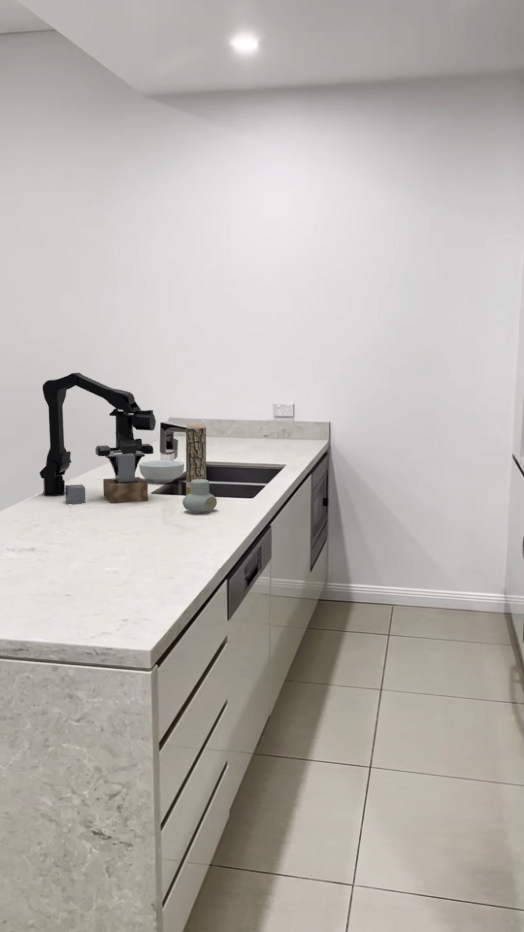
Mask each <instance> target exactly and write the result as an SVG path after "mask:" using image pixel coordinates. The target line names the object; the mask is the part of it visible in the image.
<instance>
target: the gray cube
mask: <svg viewBox="0 0 524 932" xmlns="http://www.w3.org/2000/svg"><path fill="white" fill-rule="evenodd" d="M64 494H65V503H66V504H67V503H68V504H72V505H82V503H85V504H86V487H85V486H84V485H83V484H82V483H81V484H68V485H66V484H65V492H64ZM68 504H67V505H68Z"/></svg>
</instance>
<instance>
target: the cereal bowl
mask: <svg viewBox="0 0 524 932" xmlns="http://www.w3.org/2000/svg"><path fill="white" fill-rule="evenodd" d="M138 467H139V472H140V475H141V476H142V477H143V478H144V479H147V480H149V481H151V482H152V483H155V482H157V483H156V484H165V483H172V482H173V481H174V480H176V479H178V478H180V477H181V476H182V475H183V474H184V471H185V462H183V461H180V460H171V459H170V460H169V459H167V460H166V459H162V460H160V459H159V460H156V459H155V460H147V461H142V462H139V463H138Z"/></svg>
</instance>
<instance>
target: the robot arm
mask: <svg viewBox="0 0 524 932" xmlns="http://www.w3.org/2000/svg"><path fill="white" fill-rule="evenodd" d="M74 387H78V388H80V389H82V390H85V391H86V392H89V393H91V394H93V395H96V396H97V397H99V398H102V399H104V400H105V401H106V402H107V403H108V404H109V405H111V407H113V408H114V409H112V411H111V412H110V413H109V414H108V415H109V416H110V417H115V447H110V446H109V445H97V446H96V447H95V455H97V457H104V458H107V459H108V460H109V462H110V465H111V468H112V470H113V473H114V476H115V475H116V476H117V465H116V456H115V454H133V455H134V456H135V472H136V471H137V468H138V466H139V464H140V461H141V459H142V458H143V457H144V458H145V457H146V455H153V454H154V447H153V445H152V444H149V443H143V440H142V438H135V437H134V429H135V431H149V432H150V431H151V432H152V431H154V430H155V428H156V424H157V420H156V417H155V414H154V410H153V409H148V410H143V409H142V408H141V407H140V406H139V405H138V403H137V402H136V399H135V396H134V394H133V393H132V392H130V391H128V390H123V389H119V388H113V387H110V386H108V385H106V384H103V383H101V382H99V381H97V380H94V379H92V378H90V377H88V376H86V375H84V374H82V373H81V372H72V373H69V374H68V375H66V376H63V377H60V378H56V379H48V380H46V381H45V382H44V383H43V384H42V393H43V398H44V400H45V402H46V405H47V407H48V425H49V426H48V427H49V428H48V429H49V431H48V432H49V450H48V452H47V456H46V462H45V466H44V467H43V468H42V469H41V470H40V471H39V476H40V478H41V479H43V491H42V493H43V495H44V494H45V495H51V496H60V495H59V494H64V495H65V485H66V484H65V483H66V482H65V480H64V477H63V476H64V475H65V474H66V471H67V470H68V469H69V468H70V466H71V464H72V459H71V451H69V450H68V451H67V450H66V447H65V438H64V437H65V436H64V434H65V433H64V432H65V431H64V411H63V406H64V403H65V399H66V396H67V391H68V390H70V389H72V388H74ZM45 495H44V496H45Z"/></svg>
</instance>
